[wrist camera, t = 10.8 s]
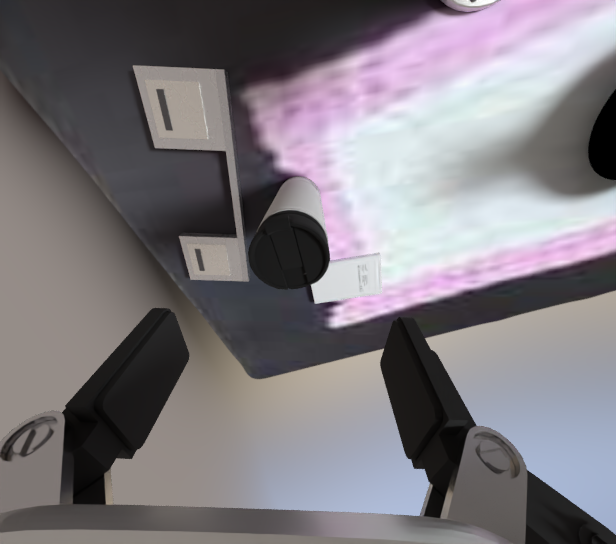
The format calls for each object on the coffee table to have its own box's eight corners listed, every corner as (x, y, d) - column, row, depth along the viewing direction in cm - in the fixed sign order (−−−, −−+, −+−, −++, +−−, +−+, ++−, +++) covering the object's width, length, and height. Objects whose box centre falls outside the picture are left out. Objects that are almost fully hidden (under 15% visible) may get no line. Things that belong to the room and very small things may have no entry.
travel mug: (315, 168, 32) (322, 209, 15) (323, 214, 35) (337, 291, 18) (272, 179, 33) (230, 228, 15) (284, 222, 36) (261, 304, 19)
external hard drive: (306, 262, 40) (378, 251, 39) (314, 299, 44) (379, 289, 43) (306, 267, 39) (381, 255, 38) (315, 304, 43) (382, 294, 42)
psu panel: (141, 68, 26) (130, 64, 25) (228, 72, 27) (223, 68, 25) (194, 275, 41) (189, 280, 39) (250, 276, 41) (248, 282, 39)
